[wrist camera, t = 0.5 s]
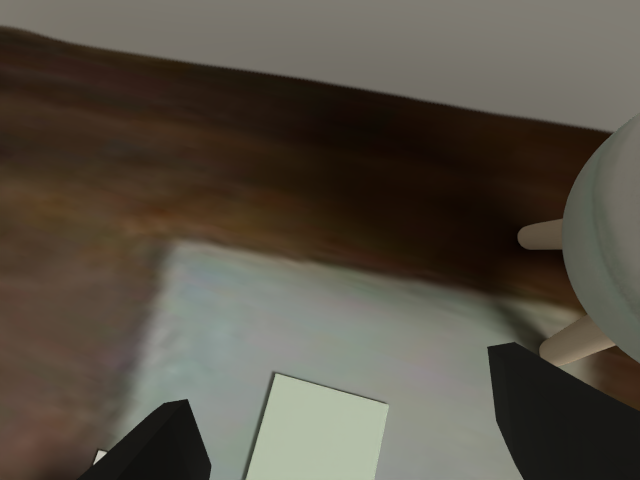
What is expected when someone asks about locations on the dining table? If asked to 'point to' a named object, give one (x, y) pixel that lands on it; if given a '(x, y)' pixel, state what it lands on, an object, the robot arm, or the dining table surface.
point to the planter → (599, 250)
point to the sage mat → (317, 434)
